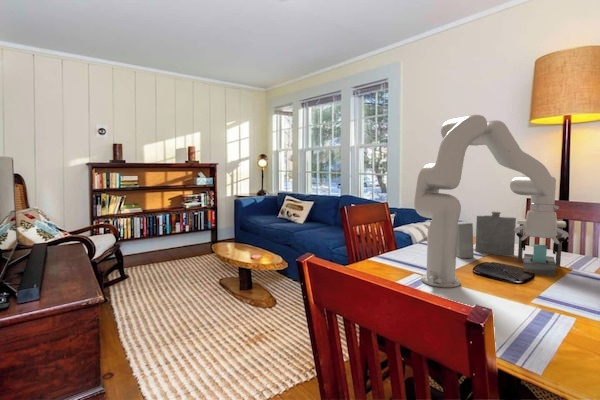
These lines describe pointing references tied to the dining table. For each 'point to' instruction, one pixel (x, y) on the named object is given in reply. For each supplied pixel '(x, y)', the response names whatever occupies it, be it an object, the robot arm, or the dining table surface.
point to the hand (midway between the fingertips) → (538, 251)
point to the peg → (539, 253)
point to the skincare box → (464, 240)
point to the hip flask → (495, 234)
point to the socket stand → (550, 264)
